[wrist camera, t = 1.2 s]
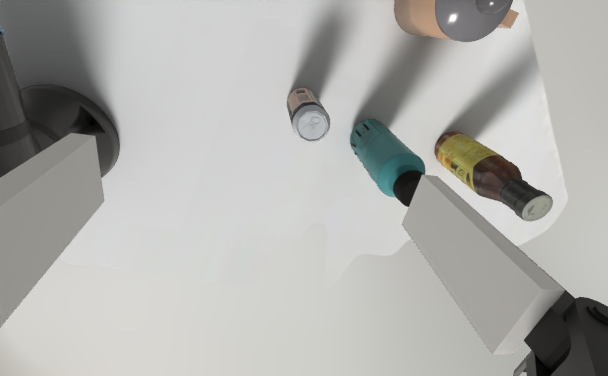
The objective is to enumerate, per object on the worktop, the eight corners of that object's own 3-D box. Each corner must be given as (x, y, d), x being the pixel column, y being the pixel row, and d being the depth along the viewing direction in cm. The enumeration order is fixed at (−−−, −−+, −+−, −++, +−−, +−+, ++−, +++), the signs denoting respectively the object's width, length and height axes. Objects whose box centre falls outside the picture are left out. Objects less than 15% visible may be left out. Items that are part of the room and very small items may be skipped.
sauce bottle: (425, 150, 54) (500, 213, 37) (452, 123, 52) (545, 175, 35) (447, 169, 57) (527, 236, 40) (474, 144, 55) (570, 202, 38)
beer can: (280, 108, 48) (285, 133, 37) (296, 80, 46) (306, 99, 36) (306, 123, 49) (317, 151, 39) (322, 97, 48) (339, 119, 37)
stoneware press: (383, 24, 44) (443, 28, 29) (410, -44, 40) (493, -78, 25) (446, 49, 46) (530, 64, 32) (476, -12, 43) (586, -27, 28)
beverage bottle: (358, 109, 49) (409, 159, 32) (391, 124, 51) (457, 179, 34) (339, 144, 52) (377, 208, 35) (372, 157, 54) (423, 224, 36)
